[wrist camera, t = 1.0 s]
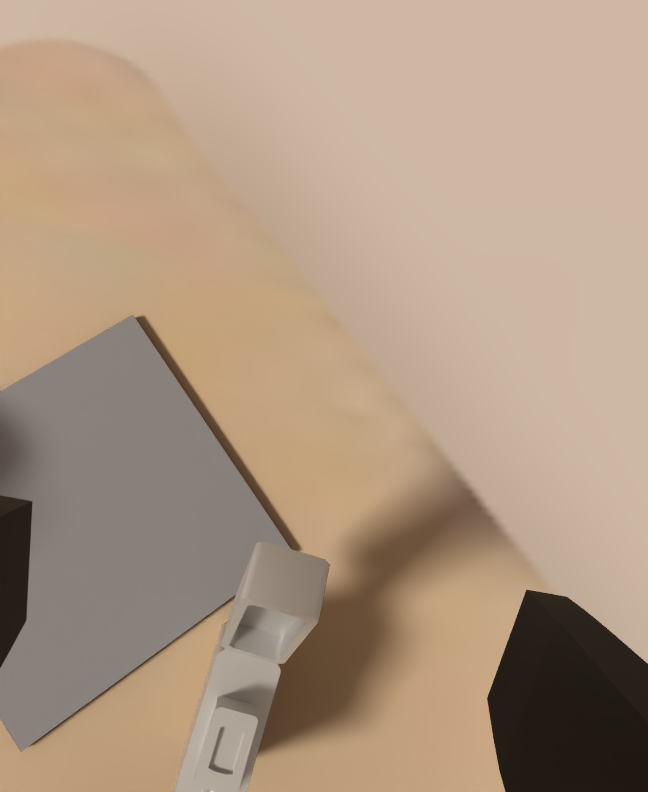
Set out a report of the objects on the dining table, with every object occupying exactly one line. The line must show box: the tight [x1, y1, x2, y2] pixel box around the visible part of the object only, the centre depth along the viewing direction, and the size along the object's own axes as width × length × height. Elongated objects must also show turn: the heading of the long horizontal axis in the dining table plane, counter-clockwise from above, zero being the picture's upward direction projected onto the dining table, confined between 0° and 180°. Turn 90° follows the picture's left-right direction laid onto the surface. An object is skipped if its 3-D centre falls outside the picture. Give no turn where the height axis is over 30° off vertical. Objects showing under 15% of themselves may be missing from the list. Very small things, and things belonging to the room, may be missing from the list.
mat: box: [0, 315, 291, 752], centre depth 20 cm, size 10×10×1 cm
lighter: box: [173, 542, 330, 792], centre depth 16 cm, size 7×2×8 cm, turn 164°
